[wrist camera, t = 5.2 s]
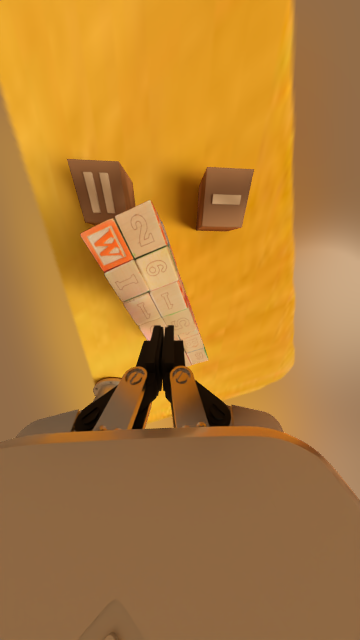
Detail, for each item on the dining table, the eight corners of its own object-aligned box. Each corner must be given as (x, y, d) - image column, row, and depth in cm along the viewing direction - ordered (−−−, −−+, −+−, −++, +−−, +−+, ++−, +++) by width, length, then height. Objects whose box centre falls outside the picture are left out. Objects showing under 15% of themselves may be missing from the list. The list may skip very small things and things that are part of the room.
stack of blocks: (199, 330, 30) (213, 376, 19) (174, 337, 31) (175, 386, 20) (162, 223, 20) (150, 195, 9) (126, 239, 20) (75, 232, 10)
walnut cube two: (138, 228, 20) (127, 223, 15) (104, 227, 19) (84, 222, 15) (132, 182, 17) (118, 160, 13) (94, 181, 17) (65, 157, 12)
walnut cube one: (227, 231, 20) (242, 227, 16) (196, 230, 20) (202, 226, 16) (234, 187, 18) (254, 168, 13) (199, 186, 18) (207, 166, 13)
